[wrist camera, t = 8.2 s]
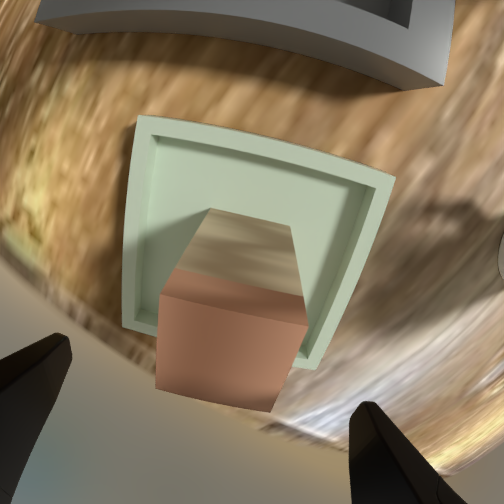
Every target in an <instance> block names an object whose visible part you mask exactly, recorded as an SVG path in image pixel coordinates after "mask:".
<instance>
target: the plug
mask: <svg viewBox="0 0 504 504" xmlns="http://www.w3.org/2000/svg"><path fill="white" fill-rule="evenodd" d="M308 327H309V325H308V319H307V313H306V308H305V302H304V296H303V291H302V285H301V280H300V274H299V269H298V264H297V259H296V253H295V248H294V243H293V238H292V233H291V228H290V226H288V225H284V224H280V223H276V222H271V221H267V220H263V219H258V218H254V217H250V216H245V215H241V214H236V213H232V212H228V211H223V210H218V209H214V208H211V209H210V210H209V212H208V213H207V215H206V217H205V218H204V220H203V221H202V223H201V225H200V226H199V228H198V230H197V231H196V233H195V235H194V236H193V238H192V239H191V241H190V243H189V244H188V246H187V248H186V250H185V251H184V253H183V255H182V256H181V258H180V260H179V261H178V263H177V265H176V266H175V268H174V270H173V272H172V273H171V275H170V277H169V279H168V280H167V282H166V284H165V286H164V287H163V289H162V291H161V293H160V297H159V311H158V328H157V349H156V389H159V390H163V391H166V392H170V393H174V394H178V395H182V396H186V397H190V398H194V399H199V400H203V401H208V402H213V403H217V404H222V405H228V406H233V407H238V408H244V409H250V410H256V411H263V412H271V410H272V408H273V405H274V403H275V401H276V399H277V397H278V395H279V393H280V391H281V389H282V386H283V384H284V382H285V380H286V378H287V376H288V373H289V371H290V369H291V367H292V364H293V362H294V360H295V358H296V355H297V353H298V351H299V348H300V346H301V344H302V341H303V339H304V337H305V334H306V332H307V330H308Z"/></svg>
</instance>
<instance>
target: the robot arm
mask: <svg viewBox="0 0 504 504" xmlns="http://www.w3.org/2000/svg"><path fill="white" fill-rule="evenodd" d="M71 361H72V351H71V346H70V341H69V338H68V337H67V336H65V335H63V334H61V333H54V334H52V335H50V336H48V337H45V338H43V339H41V340H39V341H37V342H35V343H33V344H31V345H29V346H27V347H25V348H23V349H21V350H19V351H17V352H15V353H13V354H11V355H9V356H7V357H5V358H3V359H1V360H0V504H11V501H12V497H13V495H14V493H15V490H16V487H17V485H18V482H19V480H20V477H21V475H22V472H23V470H24V468H25V465H26V463H27V461H28V458H29V456H30V453H31V452H32V449H33V447H34V445H35V443H36V441H37V439H38V436H39V434H40V432H41V430H42V428H43V426H44V424H45V422H46V420H47V418H48V416H49V414H50V412H51V410H52V408H53V406H54V404H55V402H56V399H57V397H58V394H59V392H60V389H61V387H62V384H63V382H64V379H65V376H66V374H67V372H68V369H69V367H70V364H71ZM349 474H350V486H351V499H352V504H467V503H466V502H465V501H464V500H463V499H462V498H461V497H460V496H459V495H458V494H457V493H456V492H455V491H454V490H453V489H452V488H451V487H450V486H449V485H448V484H447V483H446V482H445V481H444V480H443V478H442V477H441V476H439V474H438V473H437V472H436V471H435V469H434V468H433V467H432V466H431V465H430V464H429V463H428V462H427V460H426V459H425V458H424V457H423V456H422V455H421V454H420V453H419V451H418V450H417V449H416V448H415V447H414V446H413V445H412V443H411V442H410V441H409V440H408V439H407V438H406V437H405V435H404V434H403V433H402V432H401V431H400V430H399V429H398V428H397V426H396V425H395V424H394V423H393V422H392V421H391V420H390V418H389V417H388V416H387V415H386V414H385V413H384V412H383V410H382V409H381V408H380V407H379V406H378V405H377V404H376V403H375V402H371V401H363V402H361V403H360V405H359V406H358V407H357V409H356V410H355V411H354V413H353V414H352V415H351V417H350V421H349Z"/></svg>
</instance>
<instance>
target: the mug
mask: <svg viewBox="0 0 504 504" xmlns="http://www.w3.org/2000/svg"><path fill="white" fill-rule="evenodd" d="M498 267H499V272H500V275H501V277H502V278H503V280H504V234H503V237H502V240H501V243H500V247H499V253H498Z"/></svg>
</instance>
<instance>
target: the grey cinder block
mask: <svg viewBox="0 0 504 504" xmlns="http://www.w3.org/2000/svg"><path fill="white" fill-rule="evenodd" d="M454 9H455V0H41V3H40V6H39V9H38V12H37V15H36V18H35V21H34V22H35V23H39V24H43V25H46V26H50V27H54V28H57V29H60V30H64V31H67V32H70V33H73V34H76V35H78V34H90V33H107V32H159V33H176V34H189V35H199V36H208V37H216V38H223V39H230V40H236V41H242V42H248V43H253V44H258V45H263V46H268V47H273V48H277V49H282V50H286V51H290V52H294V53H298V54H301V55H305V56H309V57H312V58H316V59H319V60H323V61H326V62H329V63H332V64H335V65H338V66H342V67H344V68H347V69H350V70H353V71H356V72H359V73H361V74H364V75H367V76H369V77H372V78H375V79H377V80H380V81H382V82H385V83H387V84H389V85H392V86H394V87H396V88H399V89H401V90H403V91H407V90H414V89H421V88H429V87H437V86H444V81H445V76H446V71H447V65H448V59H449V52H450V45H451V38H452V30H453V20H454Z"/></svg>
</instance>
